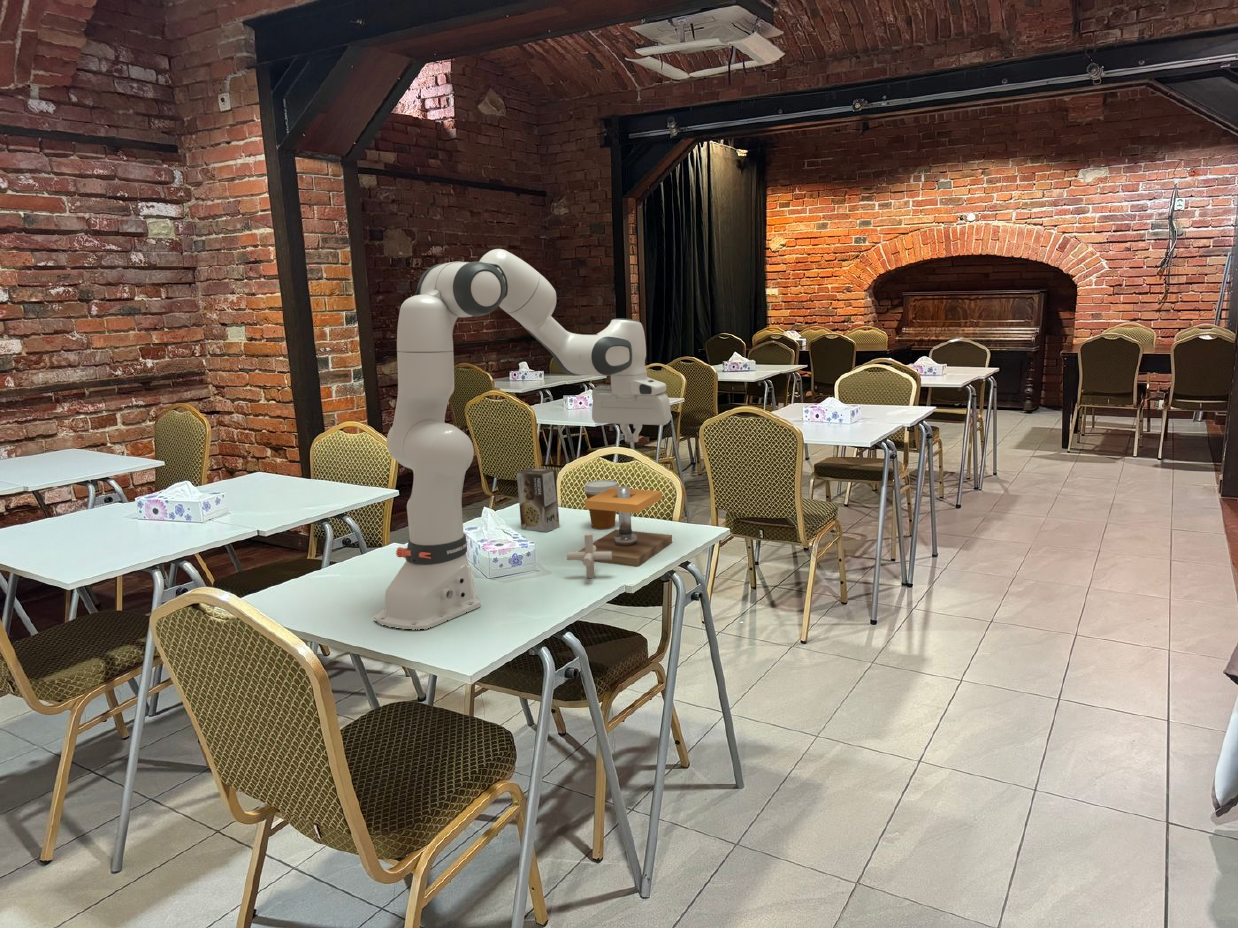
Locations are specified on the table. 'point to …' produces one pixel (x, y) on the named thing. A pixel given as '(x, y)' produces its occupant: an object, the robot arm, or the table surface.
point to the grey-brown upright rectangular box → (538, 499)
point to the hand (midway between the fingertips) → (631, 441)
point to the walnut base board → (632, 548)
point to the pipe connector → (589, 555)
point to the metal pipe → (625, 523)
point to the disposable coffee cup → (600, 517)
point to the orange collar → (623, 500)
